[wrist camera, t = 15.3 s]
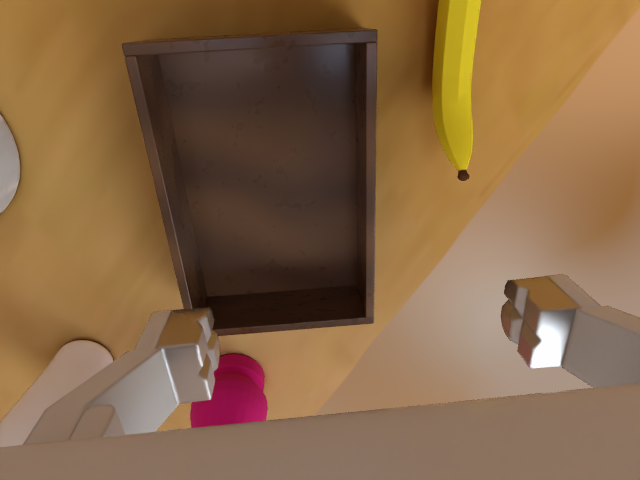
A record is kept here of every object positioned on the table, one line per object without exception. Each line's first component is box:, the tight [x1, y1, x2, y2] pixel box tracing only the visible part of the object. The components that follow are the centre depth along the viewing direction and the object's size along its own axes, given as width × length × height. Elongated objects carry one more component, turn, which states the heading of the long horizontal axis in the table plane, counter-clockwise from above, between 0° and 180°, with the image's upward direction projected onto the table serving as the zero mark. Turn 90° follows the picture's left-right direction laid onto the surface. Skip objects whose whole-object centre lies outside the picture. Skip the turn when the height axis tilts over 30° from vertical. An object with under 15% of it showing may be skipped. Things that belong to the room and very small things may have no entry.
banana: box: [432, 0, 481, 181], centre depth 29 cm, size 3×19×6 cm, turn 3°
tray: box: [122, 28, 377, 336], centre depth 34 cm, size 22×15×6 cm
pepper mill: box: [190, 354, 268, 428], centre depth 36 cm, size 7×7×20 cm
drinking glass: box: [0, 340, 113, 447], centre depth 36 cm, size 7×7×15 cm
